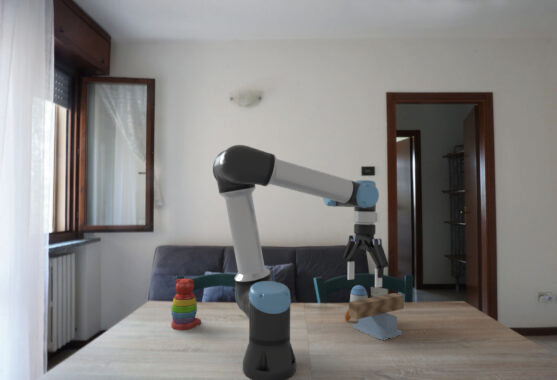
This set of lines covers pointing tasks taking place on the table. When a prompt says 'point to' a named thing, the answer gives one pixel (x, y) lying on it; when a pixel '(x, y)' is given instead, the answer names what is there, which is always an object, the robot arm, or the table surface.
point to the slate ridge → (379, 326)
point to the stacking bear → (184, 306)
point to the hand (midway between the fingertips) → (364, 283)
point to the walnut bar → (376, 305)
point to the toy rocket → (356, 297)
